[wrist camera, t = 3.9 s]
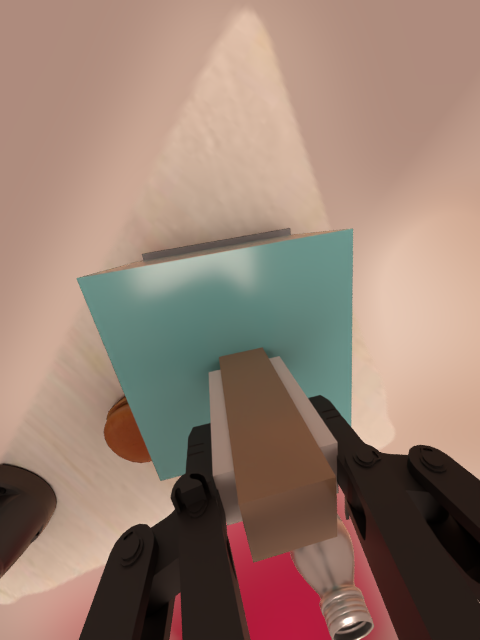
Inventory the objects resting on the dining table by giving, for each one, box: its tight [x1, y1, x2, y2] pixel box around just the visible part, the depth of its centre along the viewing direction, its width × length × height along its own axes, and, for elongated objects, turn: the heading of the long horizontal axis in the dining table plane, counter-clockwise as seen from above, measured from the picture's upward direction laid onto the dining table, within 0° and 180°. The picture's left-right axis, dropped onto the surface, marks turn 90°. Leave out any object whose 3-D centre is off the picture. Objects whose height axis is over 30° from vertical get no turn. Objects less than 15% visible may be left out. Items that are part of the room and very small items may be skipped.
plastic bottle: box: [290, 514, 374, 640], centre depth 27 cm, size 6×7×20 cm
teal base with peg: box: [77, 229, 353, 562], centre depth 16 cm, size 16×16×20 cm
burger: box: [104, 396, 152, 463], centre depth 30 cm, size 10×9×5 cm
